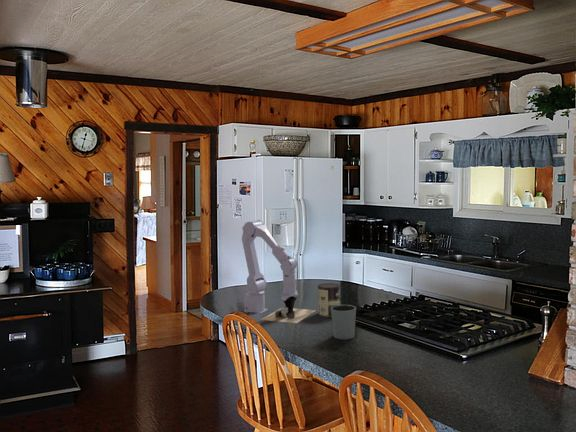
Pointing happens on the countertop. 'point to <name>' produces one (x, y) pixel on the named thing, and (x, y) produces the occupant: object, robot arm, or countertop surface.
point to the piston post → (284, 312)
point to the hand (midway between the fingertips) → (290, 312)
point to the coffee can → (328, 298)
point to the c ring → (290, 314)
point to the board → (299, 316)
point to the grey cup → (343, 321)
